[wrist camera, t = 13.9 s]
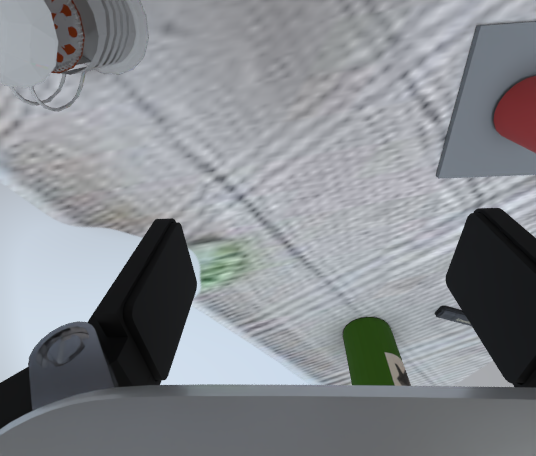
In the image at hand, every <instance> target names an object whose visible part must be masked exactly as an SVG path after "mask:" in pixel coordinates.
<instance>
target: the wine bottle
mask: <svg viewBox="0 0 536 456" xmlns="http://www.w3.org/2000/svg"><path fill="white" fill-rule="evenodd" d="M343 339H344V344H345V350H346V355H347V360H348V366H349V371H350V376H351V382H352V385H368V386H411V384H410V382H409V379H408V376H407V373H406V370H405V367H404V364H403V362H402V359H401V356H400V353H399V351H398V348H397V345H396V342H395V339H394V336H393V333H392V331H391V328H390V327H389V325H388V324H387V323H386V322H385V321H383V320H381V319H379V318H374V317H365V318H360V319H356V320H354V321H352V322H350V323H349V324H348V325H347V326H346V327H345V329H344V332H343Z"/></svg>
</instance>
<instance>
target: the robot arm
mask: <svg viewBox="0 0 536 456" xmlns="http://www.w3.org/2000/svg"><path fill="white" fill-rule="evenodd" d="M446 284H447V287H448V288H449V290H450V292H451V293H452V295H453V296H454V298H455V300H456V301H457V303H458V304H459V306H460V308H461V309H462V311H463V312H464V314H465V316H466V317H467V319H468V320H469V322H470V324H471V325H472V327H473V328H474V330H475V332H476V333H477V335H478V337H479V338H480V340H481V341H482V343H483V345H484V346H485V348H486V349H487V351H488V353H489V354H490V356H491V357H492V359H493V361H494V362H495V364H496V365H497V367H498V369H499V370H500V372H501V373H502V375H503V377H504V378H505V379H506V380H507V381H508V382H510V383H512V384H513V385H514V387H455V386H368V385H160V383H161V380H165V379H166V378H167V376H168V374H169V371H170V368H171V365H172V361H173V359H174V356H175V353H176V350H177V347H178V344H179V341H180V338H181V335H182V332H183V329H184V325H185V322H186V319H187V316H188V313H189V310H190V307H191V304H192V301H193V298H194V295H195V292H196V288H197V281H196V277H195V273H194V270H193V266H192V262H191V259H190V255H189V251H188V248H187V244H186V241H185V237H184V233H183V230H182V226H181V224H180V223H176V221H175V220H174V219H156V220H155V221H154V222H153V224H152V225H151V227H150V228H149V230H148V231H147V233H146V234H145V236H144V237H143V239H142V240H141V242H140V243H139V245H138V247H137V248H136V250H135V251H134V252H133V254H132V256H131V257H130V259H129V260H128V262H127V263H126V265H125V266H124V268H123V269H122V271H121V272H120V274H119V275H118V277H117V278H116V280H115V282H114V283H113V284H112V286H111V287H110V289H109V290H108V292H107V294H106V295H105V297H104V298H103V300H102V301H101V303H100V304H99V306H98V307H97V309H96V310H95V312H94V313H93V315H92V316H91V318H90V319H89V321H88V322H73V323H69V324H66V325H63V326H61V327H59V328H57V329H55V330H53V331H52V332H50V333H49V334H48V335H46V336H45V337H44V338H43V339H41V340H40V342H39V343H38V344H37V345H36V346H35V347H34V349H33V351H32V353H31V355H30V357H29V363H28V366H29V367H27V368H25V369H24V370H22V371H20V372H19V373H17V374H15V375H13V376H11V377H10V378H8V379H6V380H5V381H3V382H1V383H0V456H536V238H535V237H534V236H533V235H531V234H530V233H529V232H528V231H527V230H525V229H524V228H523V227H522V226H521V225H520V224H518V223H517V222H516V221H515V220H514V219H513V218H511V217H510V216H509V215H508V214H507V213H506V212H504V211H503V210H502V209H500V208H480V209H476V210H475V211H474V213H471V214H470V215H469V216H468V218H467V220H466V223H465V226H464V228H463V231H462V234H461V236H460V239H459V242H458V245H457V247H456V250H455V253H454V255H453V258H452V261H451V264H450V266H449V269H448V272H447V274H446Z"/></svg>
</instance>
